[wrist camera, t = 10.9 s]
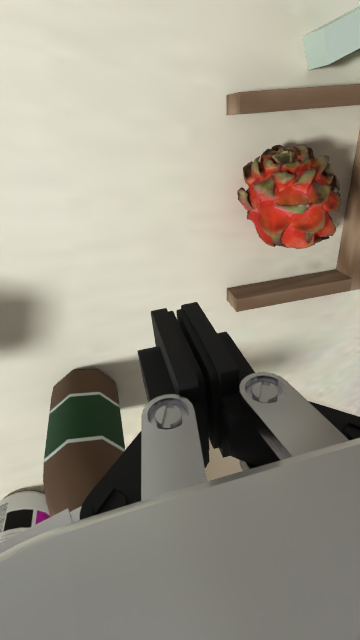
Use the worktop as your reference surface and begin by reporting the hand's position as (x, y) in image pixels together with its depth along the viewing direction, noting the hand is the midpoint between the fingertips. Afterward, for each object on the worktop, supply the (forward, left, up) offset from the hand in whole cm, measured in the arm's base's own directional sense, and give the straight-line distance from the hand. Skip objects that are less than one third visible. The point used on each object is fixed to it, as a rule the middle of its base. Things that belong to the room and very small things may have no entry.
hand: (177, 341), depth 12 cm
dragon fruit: (0, +16, -24) cm, 29 cm away
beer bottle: (+20, -7, -24) cm, 32 cm away
